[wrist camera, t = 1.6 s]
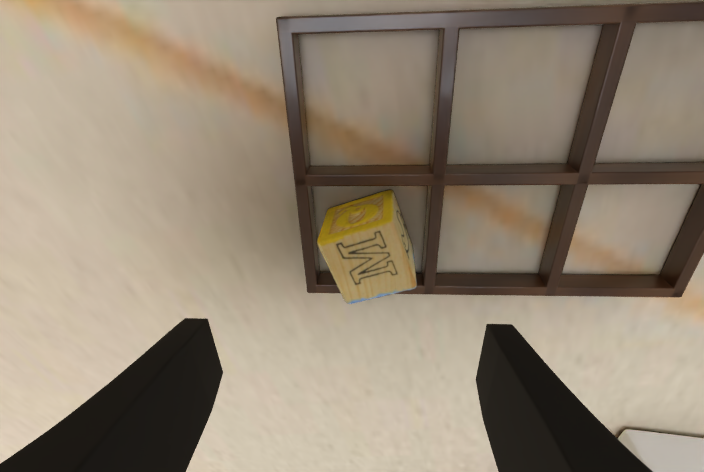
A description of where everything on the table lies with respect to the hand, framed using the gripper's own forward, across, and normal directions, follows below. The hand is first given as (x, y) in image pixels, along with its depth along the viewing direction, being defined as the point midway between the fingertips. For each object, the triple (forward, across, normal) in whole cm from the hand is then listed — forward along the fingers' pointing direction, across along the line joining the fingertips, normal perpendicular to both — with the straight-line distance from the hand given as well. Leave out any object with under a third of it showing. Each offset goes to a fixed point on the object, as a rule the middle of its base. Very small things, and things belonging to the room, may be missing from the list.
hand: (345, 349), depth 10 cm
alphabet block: (+8, 0, +1) cm, 8 cm away
